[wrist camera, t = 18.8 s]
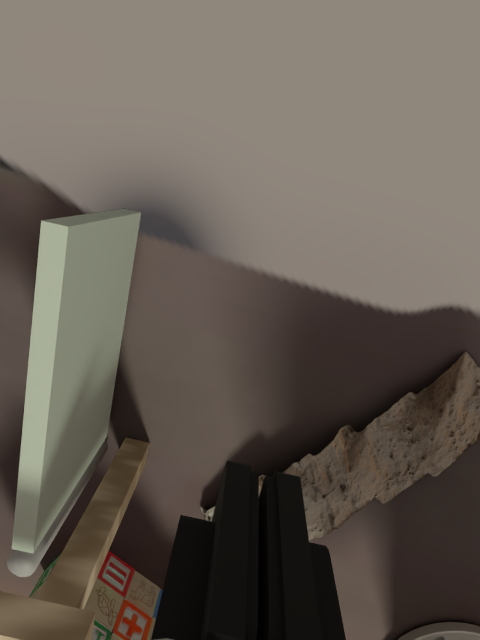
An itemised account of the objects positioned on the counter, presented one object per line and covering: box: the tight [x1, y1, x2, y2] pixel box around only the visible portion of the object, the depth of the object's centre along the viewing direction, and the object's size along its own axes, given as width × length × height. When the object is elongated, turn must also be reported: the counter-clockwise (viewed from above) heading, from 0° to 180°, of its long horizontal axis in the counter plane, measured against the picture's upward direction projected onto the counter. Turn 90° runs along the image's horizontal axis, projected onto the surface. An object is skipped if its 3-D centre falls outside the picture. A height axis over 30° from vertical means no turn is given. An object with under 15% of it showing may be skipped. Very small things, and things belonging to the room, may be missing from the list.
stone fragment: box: [200, 352, 480, 541], centre depth 35 cm, size 25×3×10 cm
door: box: [7, 209, 141, 577], centre depth 28 cm, size 20×2×12 cm, turn 167°
